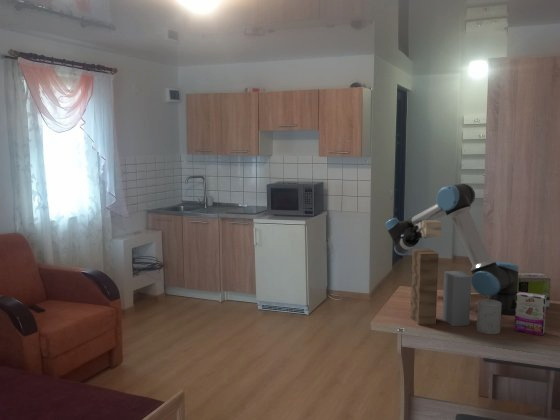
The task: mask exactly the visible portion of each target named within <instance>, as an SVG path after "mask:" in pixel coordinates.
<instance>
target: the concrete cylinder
mask: <svg viewBox="0 0 560 420" xmlns="http://www.w3.org/2000/svg"><path fill="white" fill-rule="evenodd" d="M501 306H502V303H501V302H499V301H496V300H492V299H488V298H481V299H478V300H477V312H476V313H477V314H476V315H477V316H476V331H478V332H479V333H481V334H486V335H498V334H500V333H501V321H502V320H501V318H502V314H501Z"/></svg>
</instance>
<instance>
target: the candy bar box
mask: <svg viewBox="0 0 560 420" xmlns="http://www.w3.org/2000/svg"><path fill="white" fill-rule="evenodd" d="M546 308H547V307H546V295H540V294H533V293H525V292H518V293H517V294H516V311H515V314H514V315H515V317H514V331H515V332H519V331H520V332H519V333H525V332H526V334H530V333H532V334H531V335H536V334H538V336H541V335H543V336H544V334H545V332H546V331H545V325H546V311H547V309H546Z"/></svg>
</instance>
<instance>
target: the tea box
mask: <svg viewBox="0 0 560 420" xmlns="http://www.w3.org/2000/svg"><path fill="white" fill-rule="evenodd" d="M551 281H552V280H551V277H549V276H547V275H546V274H544V273H542V272H541V273H540V272H529V273H528V272H519V273H518V284H517V293H518V292H525V293H533V294H540V295H546V308H550V303H551V302H550V301H551Z"/></svg>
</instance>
